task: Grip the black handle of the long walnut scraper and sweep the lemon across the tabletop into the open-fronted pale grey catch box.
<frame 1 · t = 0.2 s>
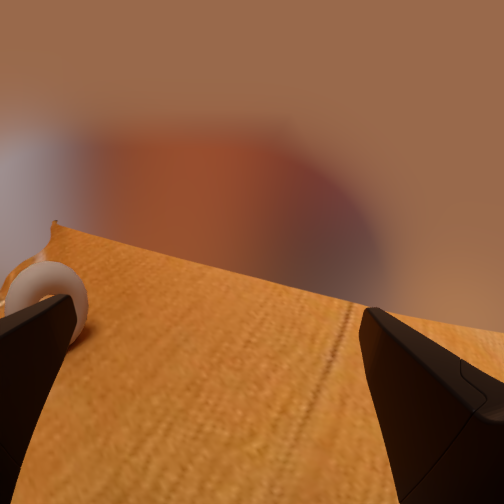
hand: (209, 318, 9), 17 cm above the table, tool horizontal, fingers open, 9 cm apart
donut: (62, 348, 30), on the table
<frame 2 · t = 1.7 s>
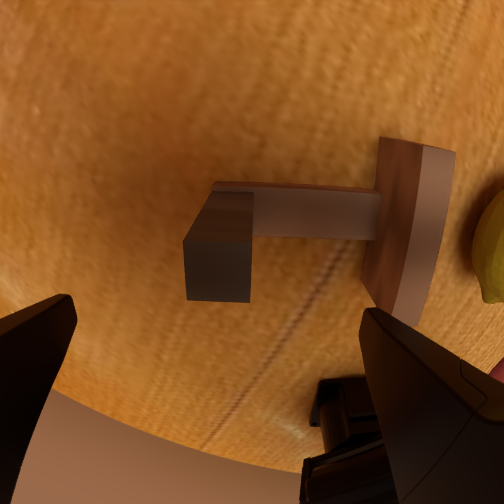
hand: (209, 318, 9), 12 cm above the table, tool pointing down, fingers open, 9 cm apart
scraper: (234, 204, 20), on the table
lemon: (493, 222, 21), on the table
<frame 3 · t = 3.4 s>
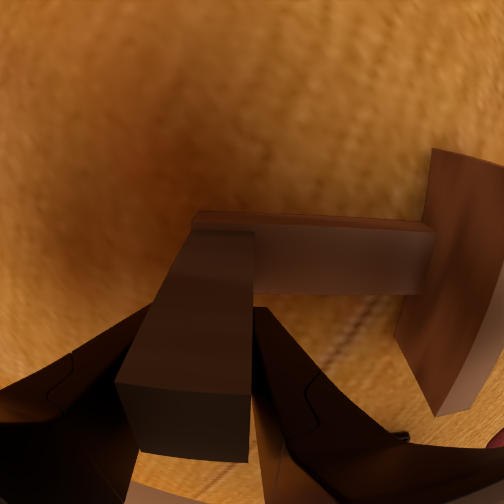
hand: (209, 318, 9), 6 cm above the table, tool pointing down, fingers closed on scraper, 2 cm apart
scraper: (226, 245, 14), on the table, touching gripper
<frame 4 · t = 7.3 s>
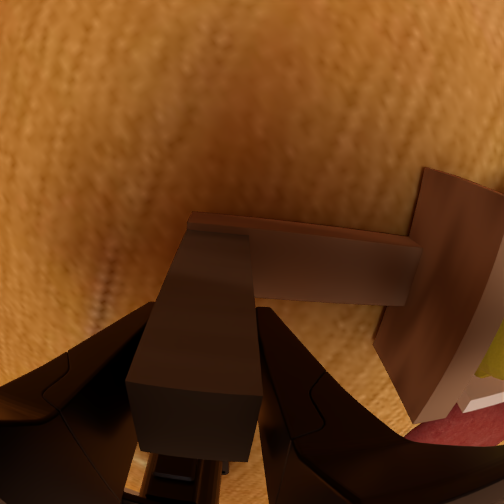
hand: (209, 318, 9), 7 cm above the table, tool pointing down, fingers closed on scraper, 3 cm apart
red spill: (458, 434, 23), on the table
scraper: (217, 246, 14), point 1 cm above the table, touching gripper, lemon
lemon: (485, 254, 15), on the table, touching scraper
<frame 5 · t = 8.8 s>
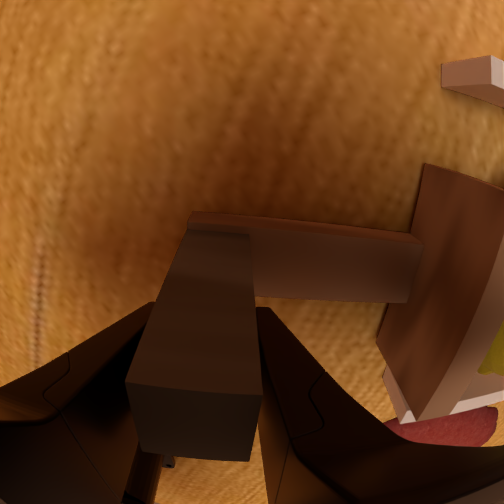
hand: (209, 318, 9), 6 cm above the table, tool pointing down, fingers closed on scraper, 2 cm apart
red spill: (422, 441, 23), on the table
scraper: (218, 246, 14), point 1 cm above the table, touching gripper, lemon
lemon: (487, 250, 15), on the table, touching scraper
when the fingers open (6 cm above the table, at t = 9.8 s): scraper stays where it is, on the table.
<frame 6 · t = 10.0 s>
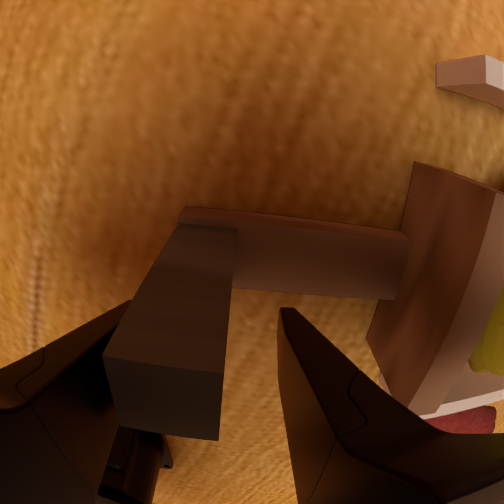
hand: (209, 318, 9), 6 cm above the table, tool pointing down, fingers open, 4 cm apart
red spill: (421, 442, 23), on the table
scraper: (209, 240, 15), on the table
lemon: (483, 249, 15), on the table
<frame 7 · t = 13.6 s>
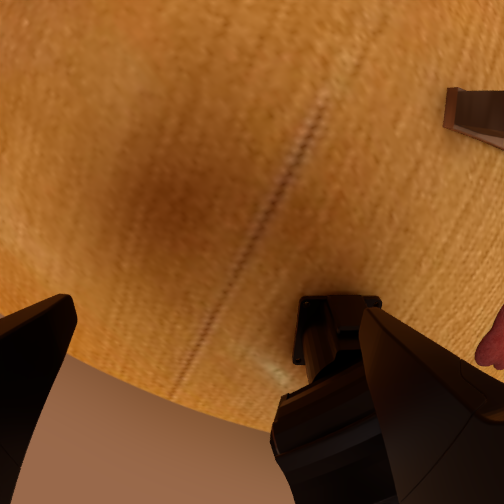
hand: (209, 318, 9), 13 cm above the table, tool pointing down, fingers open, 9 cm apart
scraper: (457, 112, 18), on the table
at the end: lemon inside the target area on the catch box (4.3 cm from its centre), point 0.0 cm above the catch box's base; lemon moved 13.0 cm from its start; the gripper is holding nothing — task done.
